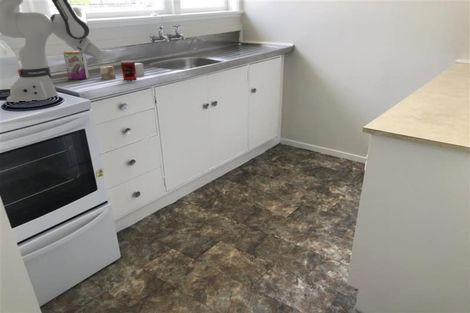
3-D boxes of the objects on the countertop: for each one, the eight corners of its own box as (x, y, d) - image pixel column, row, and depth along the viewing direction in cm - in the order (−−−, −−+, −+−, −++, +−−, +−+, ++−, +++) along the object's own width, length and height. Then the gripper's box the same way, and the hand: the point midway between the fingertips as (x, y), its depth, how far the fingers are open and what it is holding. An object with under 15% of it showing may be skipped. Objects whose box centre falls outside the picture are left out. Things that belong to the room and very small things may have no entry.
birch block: (106, 79, 215) (104, 67, 213) (101, 78, 219) (99, 66, 216) (115, 77, 220) (113, 66, 217) (110, 76, 223) (108, 65, 220)
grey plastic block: (136, 76, 223) (134, 64, 220) (130, 75, 227) (129, 64, 224) (144, 74, 227) (142, 63, 225) (138, 73, 231) (137, 62, 228)
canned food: (131, 78, 218) (129, 59, 213) (139, 79, 213) (137, 60, 209) (120, 80, 212) (117, 61, 208) (128, 81, 208) (126, 62, 203)
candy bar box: (68, 79, 218) (62, 52, 211) (71, 78, 222) (66, 51, 216) (86, 79, 218) (81, 51, 211) (89, 77, 222) (84, 50, 216)
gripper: (66, 44, 190) (87, 61, 200) (82, 48, 177) (104, 65, 187) (73, 35, 191) (93, 52, 201) (89, 38, 178) (110, 56, 188)
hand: (99, 58), depth 194 cm, fingers closed
